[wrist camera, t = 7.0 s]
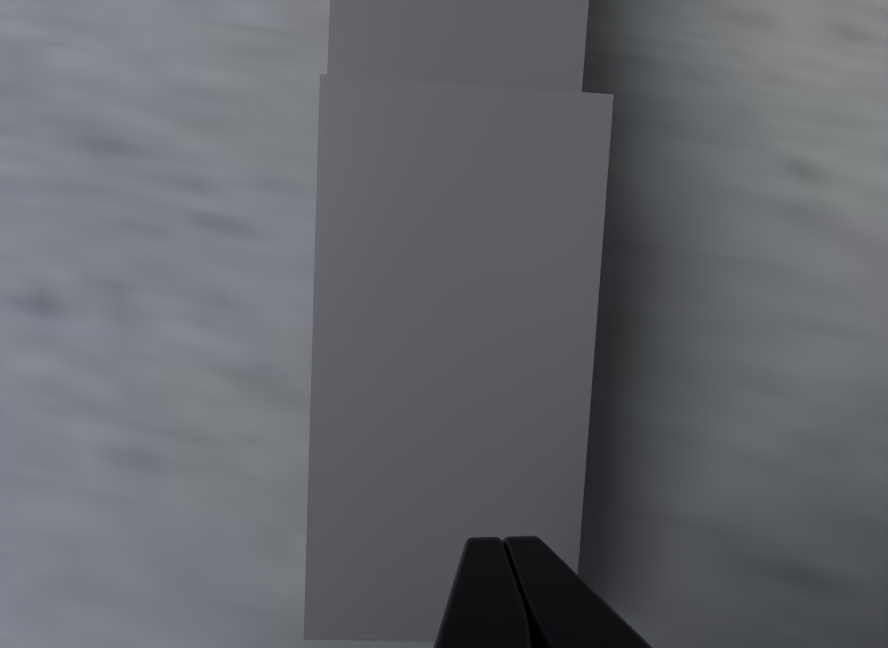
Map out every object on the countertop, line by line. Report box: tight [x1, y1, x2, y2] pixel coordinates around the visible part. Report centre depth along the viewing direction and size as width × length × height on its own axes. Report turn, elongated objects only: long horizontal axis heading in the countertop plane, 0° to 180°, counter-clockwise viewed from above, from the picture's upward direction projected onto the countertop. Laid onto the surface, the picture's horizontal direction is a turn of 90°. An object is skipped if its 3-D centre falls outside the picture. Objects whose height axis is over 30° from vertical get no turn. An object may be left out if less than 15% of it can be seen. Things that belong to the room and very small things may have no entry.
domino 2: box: [304, 75, 614, 640], centre depth 14 cm, size 2×5×10 cm
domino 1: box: [327, 0, 589, 92], centre depth 15 cm, size 2×5×10 cm
